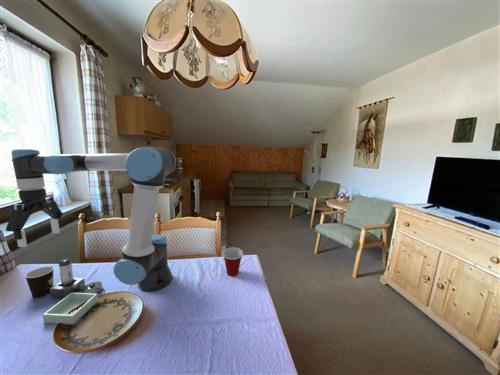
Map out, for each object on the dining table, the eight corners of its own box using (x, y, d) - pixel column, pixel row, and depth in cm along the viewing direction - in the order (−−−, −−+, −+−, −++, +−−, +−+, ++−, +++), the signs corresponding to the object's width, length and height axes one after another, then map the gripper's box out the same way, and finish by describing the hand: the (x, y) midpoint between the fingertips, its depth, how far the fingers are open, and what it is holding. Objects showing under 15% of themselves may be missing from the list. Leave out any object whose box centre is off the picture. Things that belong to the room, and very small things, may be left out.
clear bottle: (77, 290, 94) (73, 258, 91) (69, 296, 90) (65, 263, 87) (68, 290, 94) (64, 258, 91) (60, 296, 90) (55, 262, 87)
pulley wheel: (106, 286, 97) (105, 279, 96) (94, 296, 90) (93, 289, 89) (91, 285, 97) (90, 279, 96) (78, 296, 90) (77, 289, 90)
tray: (98, 301, 87) (97, 293, 87) (73, 324, 76) (72, 315, 75) (72, 300, 88) (71, 292, 87) (43, 323, 76) (42, 314, 75)
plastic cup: (219, 278, 106) (219, 256, 104) (225, 266, 116) (225, 246, 114) (240, 280, 104) (241, 258, 102) (244, 268, 115) (244, 248, 113)
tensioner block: (85, 287, 96) (84, 277, 95) (70, 300, 88) (68, 289, 87) (68, 287, 96) (66, 277, 95) (51, 299, 88) (49, 288, 87)
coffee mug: (39, 301, 86) (35, 279, 85) (23, 297, 88) (19, 276, 86) (68, 284, 98) (65, 264, 96) (53, 281, 99) (50, 262, 98)
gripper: (52, 183, 95) (59, 228, 99) (-18, 195, 71) (-5, 253, 74) (68, 183, 95) (75, 228, 99) (4, 195, 70) (15, 253, 74)
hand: (40, 239), depth 86 cm, fingers open, 13 cm apart
